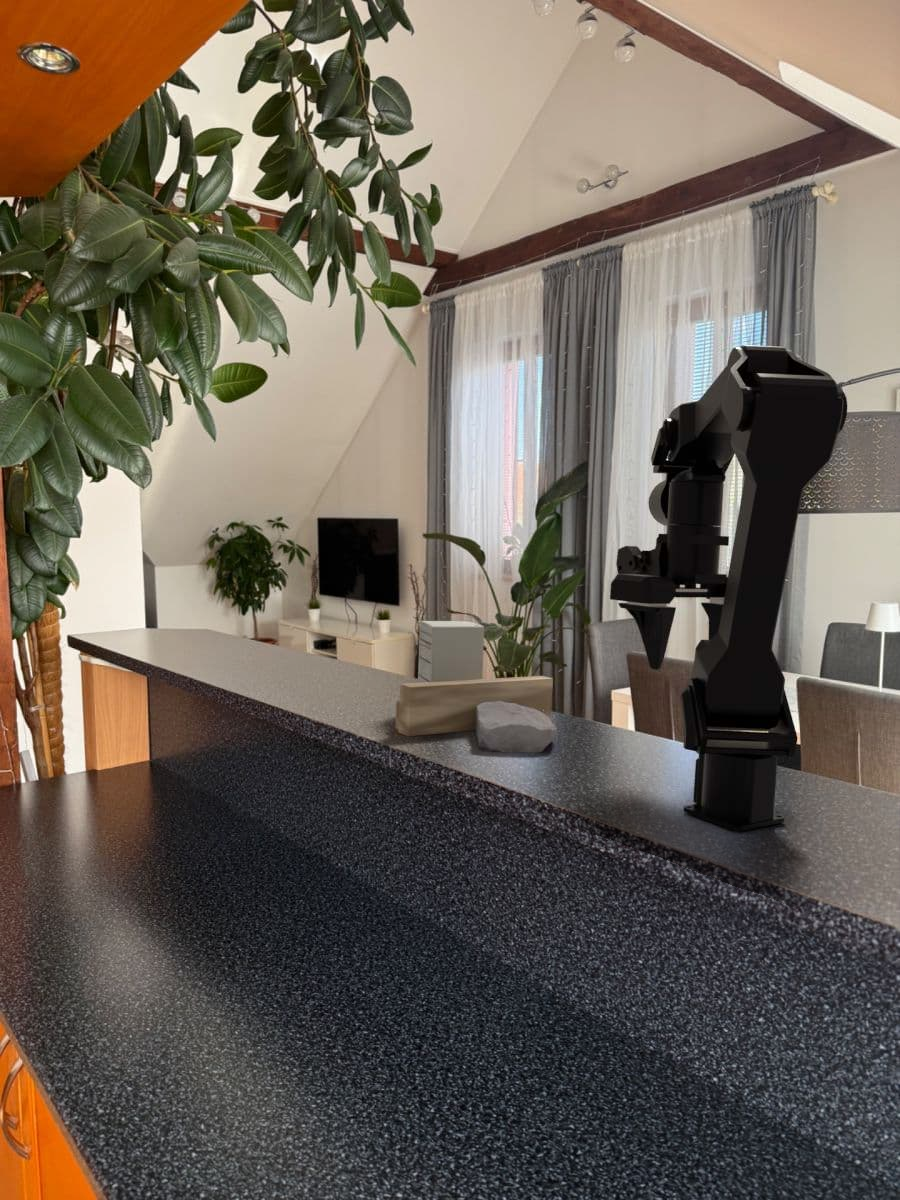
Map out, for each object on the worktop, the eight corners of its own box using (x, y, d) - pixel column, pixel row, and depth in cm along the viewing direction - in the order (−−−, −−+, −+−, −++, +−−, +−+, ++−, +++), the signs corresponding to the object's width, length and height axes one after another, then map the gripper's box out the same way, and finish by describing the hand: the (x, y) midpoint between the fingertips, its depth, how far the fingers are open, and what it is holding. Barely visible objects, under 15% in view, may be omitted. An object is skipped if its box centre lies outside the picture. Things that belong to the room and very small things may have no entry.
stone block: (543, 746, 116) (467, 728, 116) (552, 710, 116) (476, 692, 115) (557, 774, 104) (473, 754, 104) (568, 734, 104) (483, 714, 103)
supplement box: (465, 708, 129) (469, 620, 128) (481, 719, 122) (485, 626, 121) (415, 709, 127) (419, 619, 126) (428, 720, 120) (432, 625, 119)
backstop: (550, 722, 122) (552, 678, 121) (408, 736, 110) (410, 687, 110) (530, 716, 125) (532, 673, 125) (390, 729, 114) (392, 681, 113)
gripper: (697, 528, 111) (689, 655, 112) (579, 521, 101) (572, 660, 102) (773, 529, 102) (764, 668, 103) (652, 522, 92) (643, 675, 93)
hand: (685, 667), depth 100 cm, fingers open, 9 cm apart
